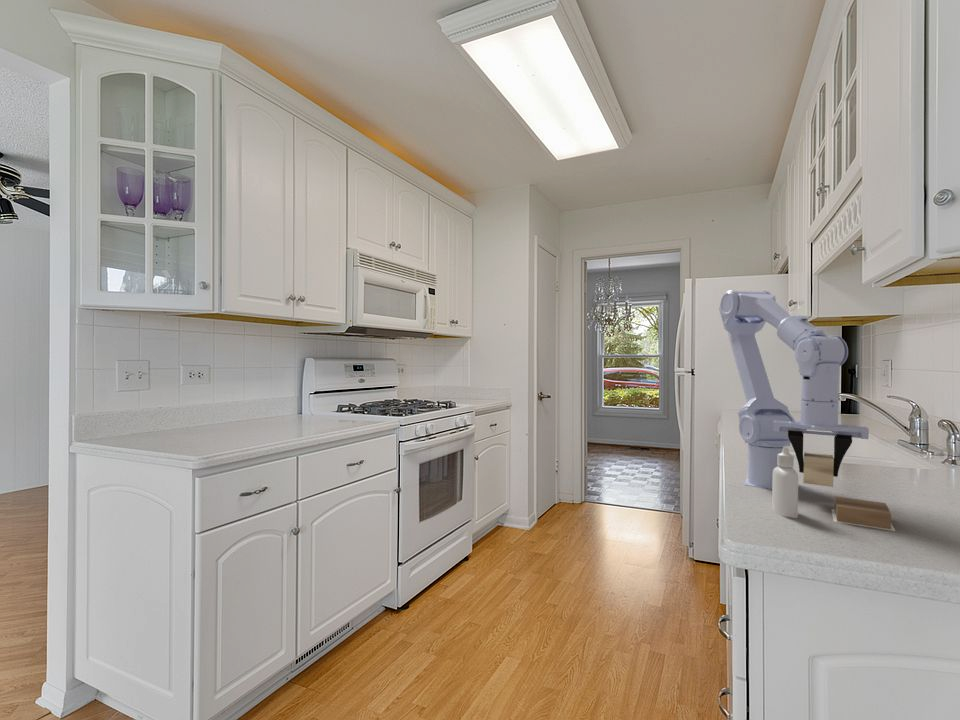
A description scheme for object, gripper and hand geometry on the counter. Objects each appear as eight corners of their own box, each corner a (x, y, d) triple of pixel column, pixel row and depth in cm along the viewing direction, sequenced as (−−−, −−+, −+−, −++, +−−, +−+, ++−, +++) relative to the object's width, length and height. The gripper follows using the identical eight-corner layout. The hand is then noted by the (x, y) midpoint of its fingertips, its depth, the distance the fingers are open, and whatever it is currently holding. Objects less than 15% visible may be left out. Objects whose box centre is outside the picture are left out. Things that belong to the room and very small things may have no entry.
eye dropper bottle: (801, 514, 89) (803, 446, 89) (796, 521, 85) (797, 450, 85) (773, 509, 92) (774, 443, 92) (766, 516, 88) (768, 447, 88)
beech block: (803, 478, 97) (804, 452, 97) (832, 481, 94) (832, 455, 94) (803, 483, 93) (803, 456, 93) (833, 486, 91) (833, 459, 90)
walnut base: (835, 510, 90) (835, 496, 90) (885, 517, 86) (885, 503, 86) (837, 521, 84) (837, 506, 84) (890, 529, 80) (891, 513, 80)
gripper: (773, 399, 94) (771, 472, 94) (871, 405, 86) (869, 484, 86) (775, 397, 100) (773, 465, 100) (867, 401, 92) (865, 475, 92)
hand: (818, 473), depth 94 cm, fingers closed on beech block, 4 cm apart
